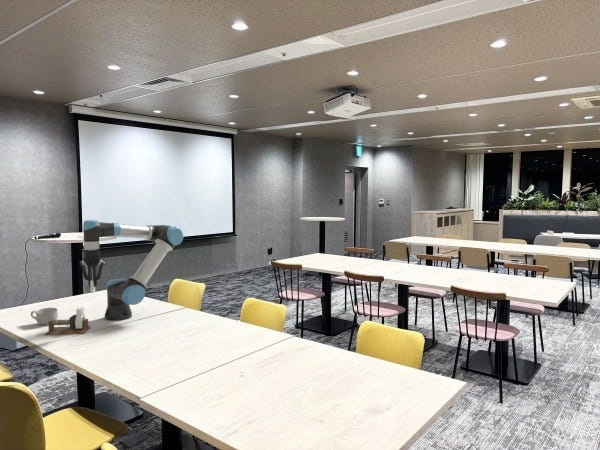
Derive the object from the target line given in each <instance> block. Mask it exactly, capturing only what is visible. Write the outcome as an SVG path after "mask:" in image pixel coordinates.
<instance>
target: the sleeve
mask: <svg viewBox="0 0 600 450" xmlns="http://www.w3.org/2000/svg"><path fill="white" fill-rule="evenodd" d="M75 310H76V312H75V313H76V314H75V315H77V317H76V320H75V325H76V328H83V324H82V319H86V315H85V311H84V307H83V306H80V307H79V306H78V308H76V309H75Z"/></svg>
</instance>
